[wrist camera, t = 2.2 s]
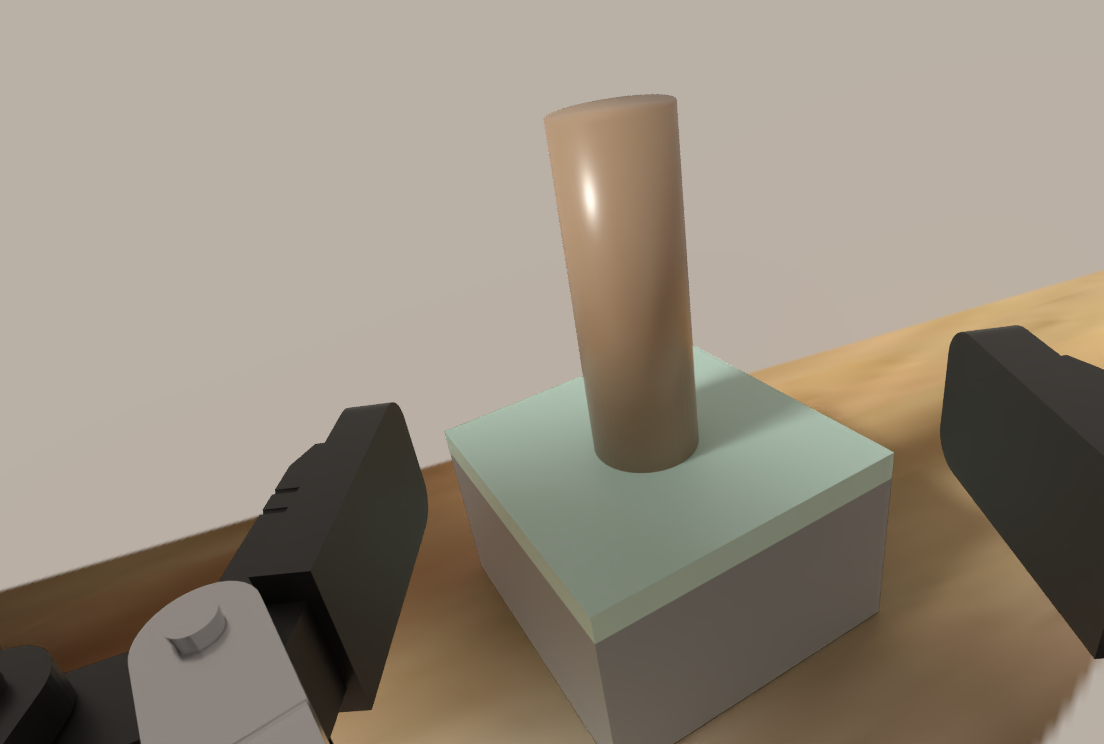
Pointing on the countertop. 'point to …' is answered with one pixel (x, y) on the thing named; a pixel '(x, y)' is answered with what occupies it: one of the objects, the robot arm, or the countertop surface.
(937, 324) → the countertop surface
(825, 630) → the storage box
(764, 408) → the peg on green base
